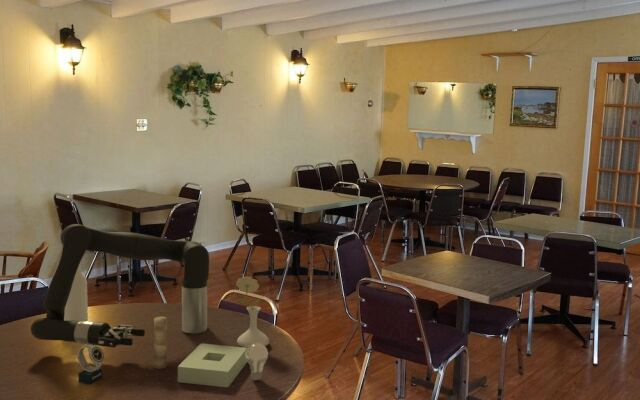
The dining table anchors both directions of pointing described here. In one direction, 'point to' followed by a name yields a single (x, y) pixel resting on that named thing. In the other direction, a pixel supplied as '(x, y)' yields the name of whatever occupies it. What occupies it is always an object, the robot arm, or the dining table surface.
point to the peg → (160, 342)
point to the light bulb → (256, 359)
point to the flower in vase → (252, 333)
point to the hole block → (212, 365)
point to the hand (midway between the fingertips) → (138, 337)
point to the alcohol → (77, 299)
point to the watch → (90, 373)
